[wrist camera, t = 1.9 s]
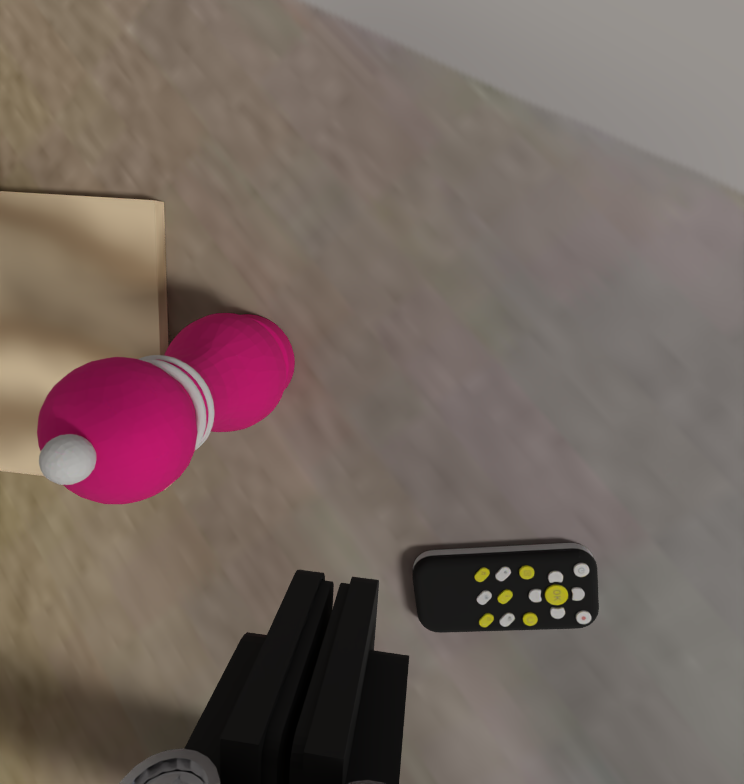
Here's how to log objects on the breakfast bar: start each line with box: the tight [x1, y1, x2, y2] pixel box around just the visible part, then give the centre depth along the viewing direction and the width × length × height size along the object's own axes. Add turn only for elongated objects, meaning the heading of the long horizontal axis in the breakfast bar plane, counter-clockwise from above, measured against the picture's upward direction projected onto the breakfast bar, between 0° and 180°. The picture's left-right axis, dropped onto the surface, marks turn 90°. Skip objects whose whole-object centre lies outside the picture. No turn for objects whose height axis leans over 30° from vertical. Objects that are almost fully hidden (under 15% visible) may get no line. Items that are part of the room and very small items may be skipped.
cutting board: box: [0, 191, 169, 490], centre depth 38 cm, size 20×16×1 cm
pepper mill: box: [37, 313, 295, 504], centre depth 28 cm, size 7×7×20 cm
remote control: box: [413, 543, 599, 632], centre depth 39 cm, size 6×13×2 cm, turn 98°
